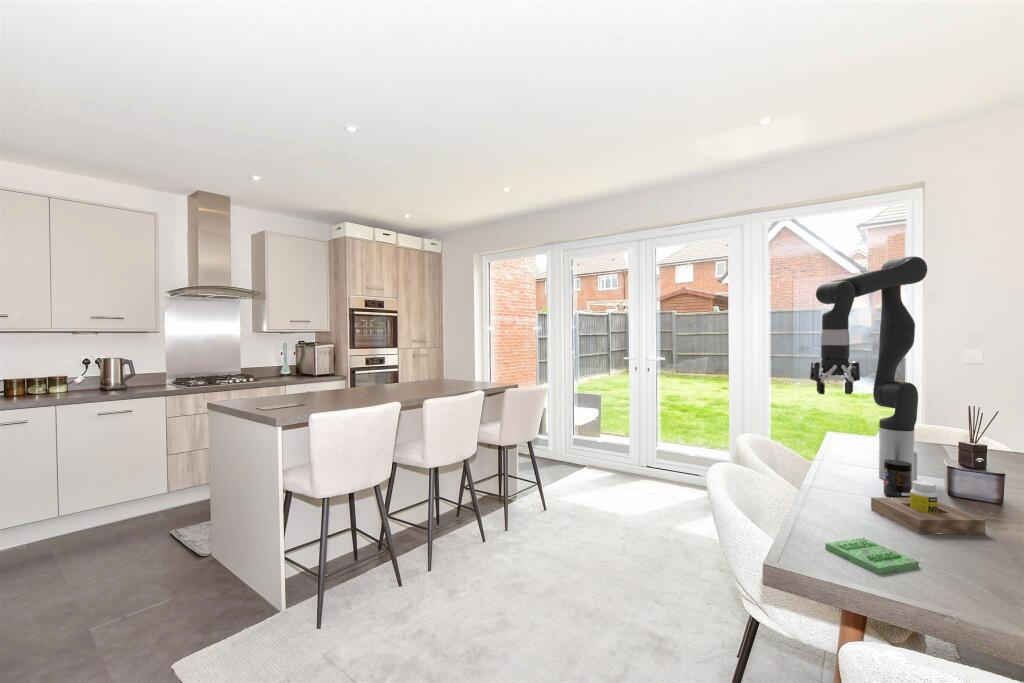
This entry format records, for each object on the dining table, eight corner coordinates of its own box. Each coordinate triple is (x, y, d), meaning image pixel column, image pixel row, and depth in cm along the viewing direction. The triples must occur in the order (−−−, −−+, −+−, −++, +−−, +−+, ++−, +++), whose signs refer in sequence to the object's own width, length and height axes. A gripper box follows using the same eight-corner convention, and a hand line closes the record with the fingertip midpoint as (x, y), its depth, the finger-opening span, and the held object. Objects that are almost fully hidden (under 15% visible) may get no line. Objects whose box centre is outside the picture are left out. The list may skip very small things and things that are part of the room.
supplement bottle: (931, 525, 121) (931, 487, 120) (905, 518, 125) (905, 481, 125) (941, 521, 123) (942, 484, 123) (916, 514, 128) (916, 478, 128)
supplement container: (897, 492, 147) (897, 459, 146) (918, 500, 140) (918, 465, 140) (877, 493, 146) (877, 459, 146) (897, 500, 139) (897, 465, 139)
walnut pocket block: (928, 510, 132) (929, 497, 132) (985, 534, 116) (985, 520, 116) (871, 509, 132) (871, 497, 132) (919, 534, 116) (919, 519, 116)
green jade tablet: (878, 577, 97) (878, 565, 97) (825, 551, 109) (825, 540, 109) (918, 570, 100) (918, 559, 100) (863, 546, 111) (863, 535, 111)
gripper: (820, 344, 148) (819, 395, 148) (866, 343, 148) (865, 395, 148) (805, 343, 155) (805, 392, 156) (849, 343, 155) (849, 392, 155)
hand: (834, 394), depth 152 cm, fingers open, 8 cm apart
